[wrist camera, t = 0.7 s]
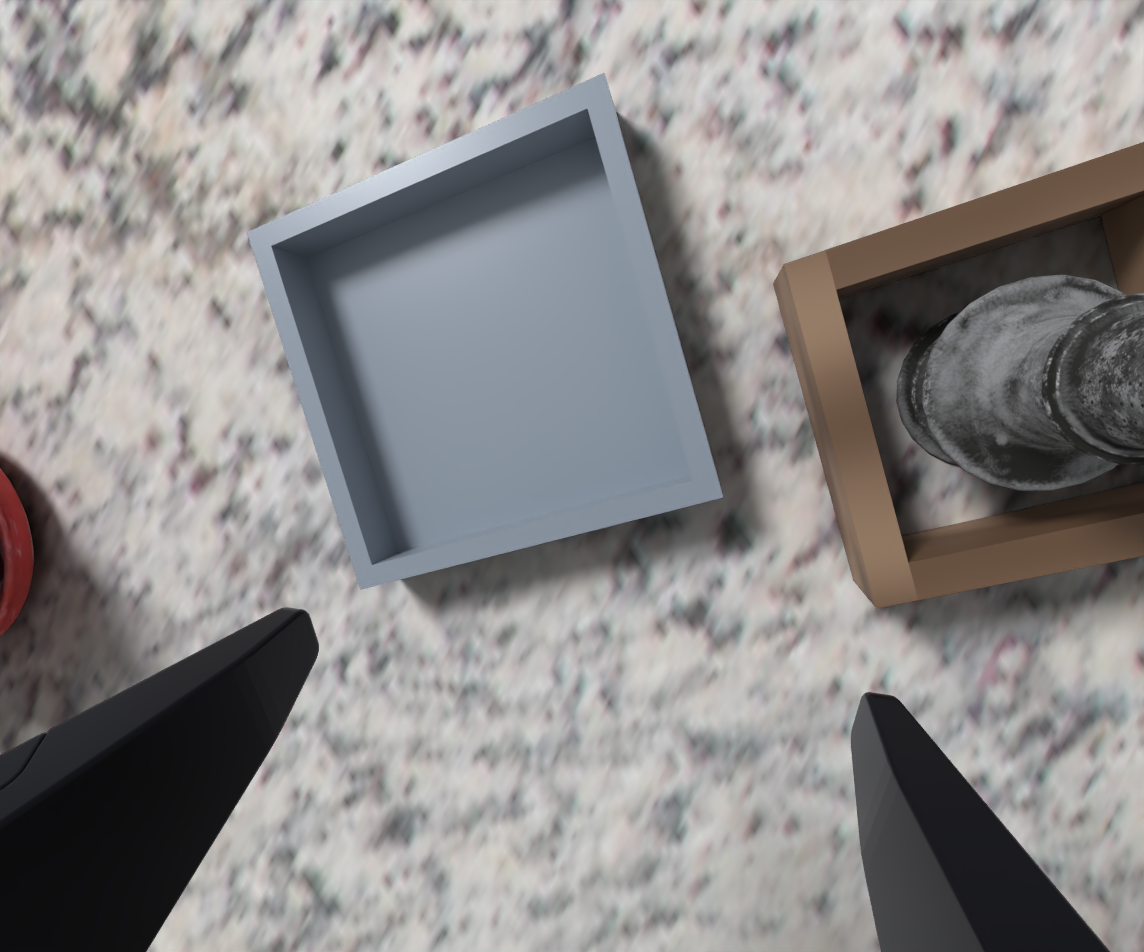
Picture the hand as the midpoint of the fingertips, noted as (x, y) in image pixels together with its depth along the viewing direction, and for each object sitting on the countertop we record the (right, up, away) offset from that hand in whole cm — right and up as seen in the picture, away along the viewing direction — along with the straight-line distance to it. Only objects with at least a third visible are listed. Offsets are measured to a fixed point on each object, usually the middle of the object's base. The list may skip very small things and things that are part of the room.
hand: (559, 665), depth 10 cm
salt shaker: (+14, +6, +11) cm, 18 cm away
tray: (-3, +8, +14) cm, 16 cm away
